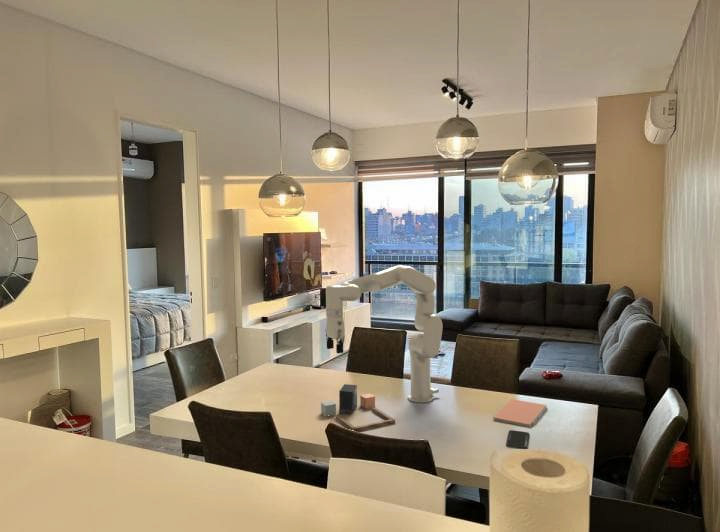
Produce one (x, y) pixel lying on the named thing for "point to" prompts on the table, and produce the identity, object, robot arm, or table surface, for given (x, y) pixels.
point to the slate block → (328, 408)
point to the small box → (348, 399)
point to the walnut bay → (368, 426)
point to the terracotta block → (367, 400)
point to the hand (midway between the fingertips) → (334, 350)
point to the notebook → (520, 413)
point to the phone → (517, 439)
